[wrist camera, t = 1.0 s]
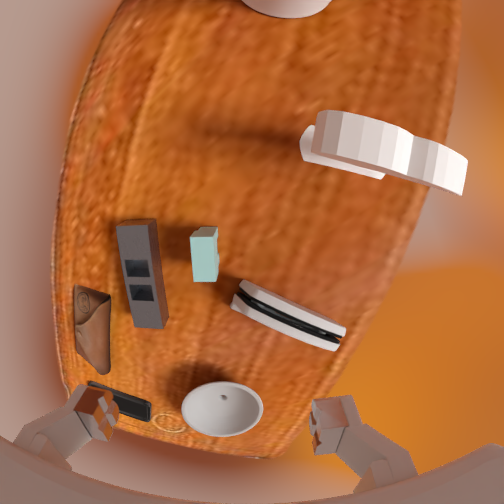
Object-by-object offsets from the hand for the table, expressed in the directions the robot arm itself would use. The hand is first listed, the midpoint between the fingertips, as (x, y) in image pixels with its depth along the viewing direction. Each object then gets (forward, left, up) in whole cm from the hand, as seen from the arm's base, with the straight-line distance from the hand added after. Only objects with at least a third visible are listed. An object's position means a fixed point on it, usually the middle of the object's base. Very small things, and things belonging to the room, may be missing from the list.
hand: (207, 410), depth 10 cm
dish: (+33, -4, -31) cm, 46 cm away
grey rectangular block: (+7, -14, -31) cm, 35 cm away
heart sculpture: (-10, +15, -31) cm, 36 cm away
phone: (+39, -28, -32) cm, 58 cm away
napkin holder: (+13, +7, -31) cm, 35 cm away
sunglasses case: (+19, -28, -32) cm, 46 cm away
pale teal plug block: (+3, -4, -31) cm, 31 cm away
